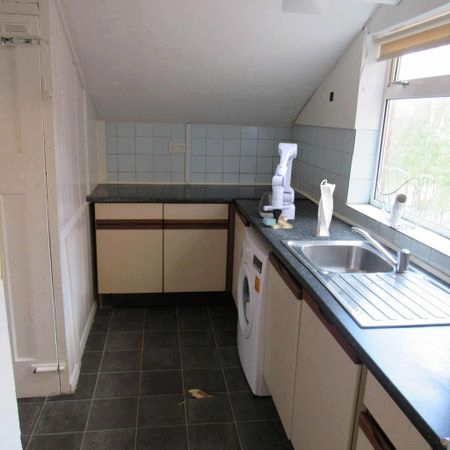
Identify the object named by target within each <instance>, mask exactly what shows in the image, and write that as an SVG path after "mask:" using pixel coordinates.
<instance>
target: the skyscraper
mask: <svg viewBox="0 0 450 450" xmlns="http://www.w3.org/2000/svg"><path fill="white" fill-rule="evenodd" d="M324 182H325V183H324ZM327 182H328V180H327V179H324V180H322V182H321V183H320V193H321V195H320V198H319V203H318V208H317V209H318V212H317V219H318V220H317V228H316V232H313V233H312V235H313V236H315V238H322V239H323V238H324V239H330V238H331V236H330V233H329V232H330V231H329V228H330V225H331V222H332V216H333V210H334V198H333V193H334V192H335V191H334V190H335V189H336V184H334V183H333V184H331V183H327ZM323 183H324V184H323Z"/></svg>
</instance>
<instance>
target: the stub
mask: <svg viewBox="0 0 450 450" xmlns="http://www.w3.org/2000/svg"><path fill="white" fill-rule="evenodd" d="M262 223H263V224H265V225H266V226H268V225H276V219H274V217H267V218H263V221H262Z"/></svg>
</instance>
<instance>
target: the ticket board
mask: <svg viewBox="0 0 450 450" xmlns="http://www.w3.org/2000/svg"><path fill="white" fill-rule="evenodd" d="M267 226H268V227H270V228H272V229H273V230H274V229H275V230H276V229H279V230H280V229H293V224H291V223H289V222H288V219H287V216H285V215H280V217H279V219H278V223H276V225H267Z"/></svg>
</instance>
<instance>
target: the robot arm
mask: <svg viewBox="0 0 450 450" xmlns="http://www.w3.org/2000/svg"><path fill="white" fill-rule="evenodd" d="M277 151H278V154H279V156H280V159H279V160H280V161H279V164H278V165H277V166H276V169H275V173H274V176H273V177H272V179H271V183H272V184H271V185H272V186H271V187H272V188H271V189H272V194H273V195H272V205H271V206H264V210H272V213H273V216H274V217H273V218H274V219H276V223H278V219H279V217H280V215H285V216H287V220H295V213H296V212H295V211H296V206H295V204H294V201H295V190H294V189H293V188H292V187H291V177H292V167H293V160H294V159H296V158H297V153H298V144H297V143H286V142H279V144H278V149H277Z"/></svg>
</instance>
